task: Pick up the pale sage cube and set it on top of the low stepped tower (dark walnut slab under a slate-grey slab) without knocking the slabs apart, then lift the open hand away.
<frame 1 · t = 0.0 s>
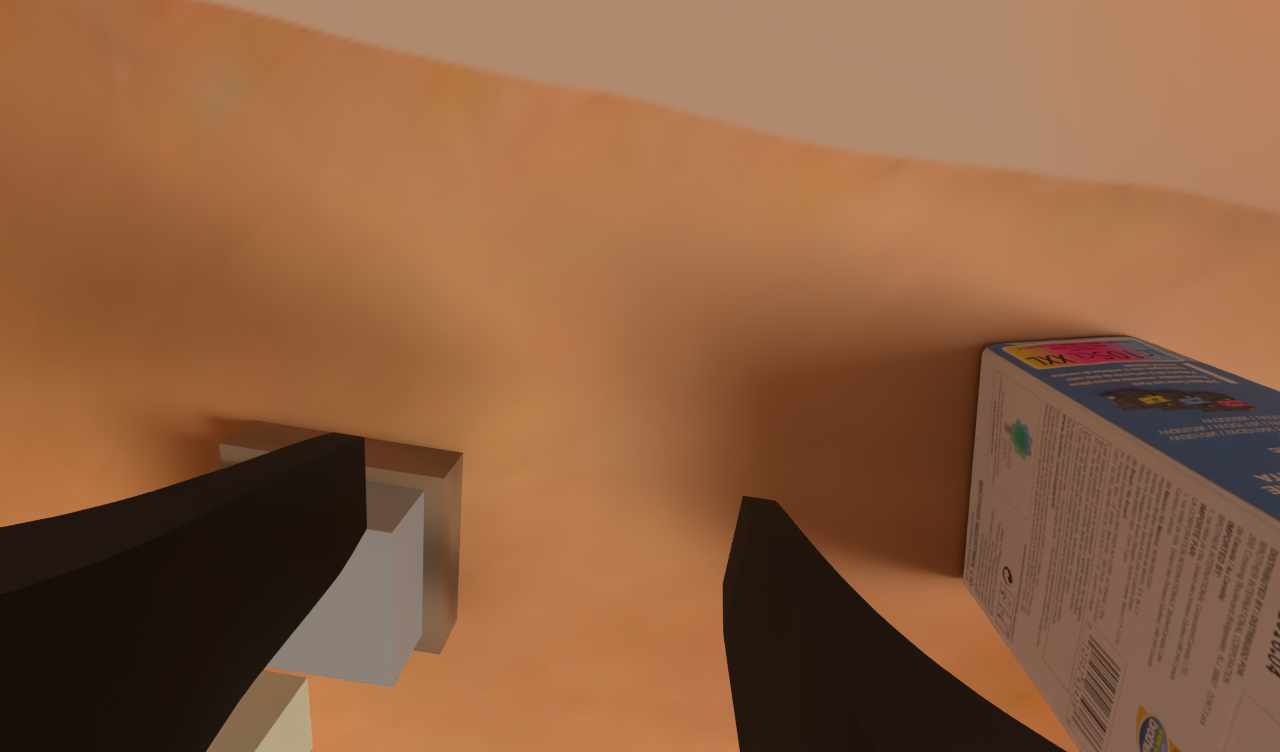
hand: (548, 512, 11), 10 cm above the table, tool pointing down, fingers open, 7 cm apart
sage cube: (263, 705, 28), on the table
ink cartridge box: (1045, 465, 22), on the table
base block: (368, 517, 25), on the table, touching top block
top block: (336, 552, 22), point 2 cm above the table, touching base block
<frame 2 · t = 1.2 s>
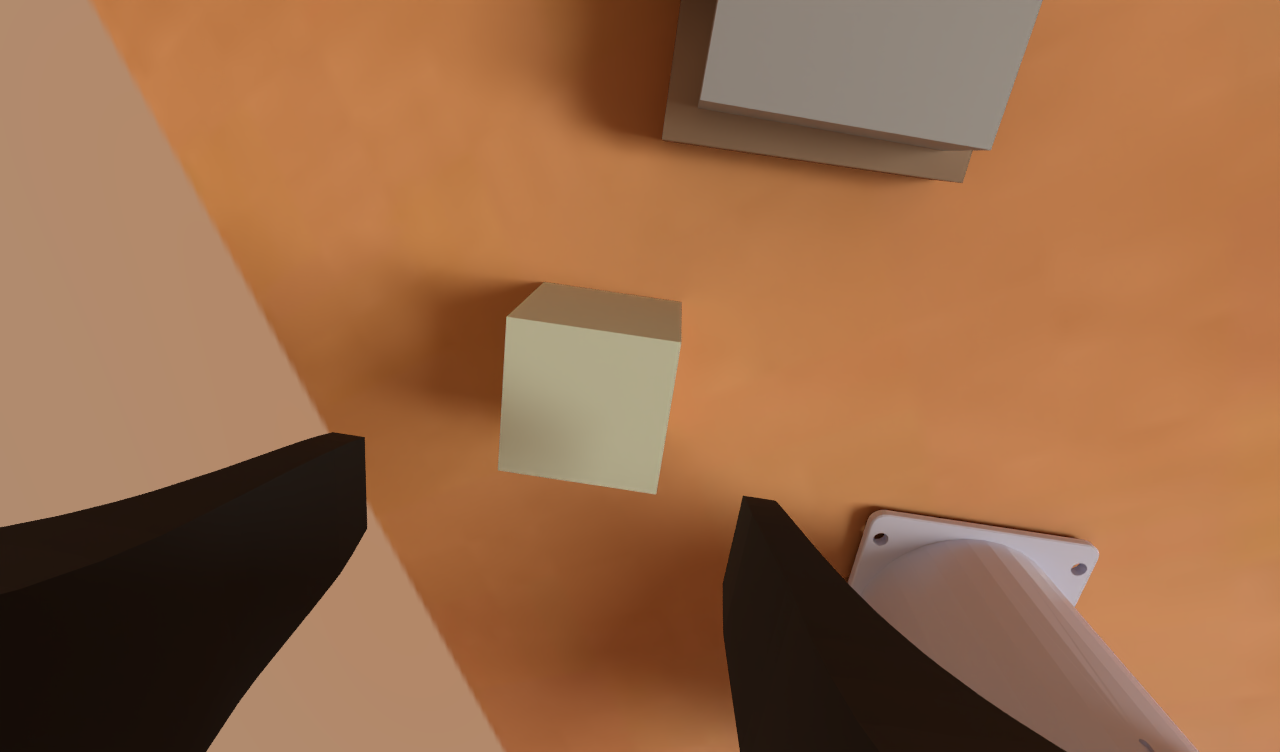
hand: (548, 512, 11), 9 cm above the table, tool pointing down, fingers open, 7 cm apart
sage cube: (605, 356, 20), on the table
base block: (827, 9, 17), on the table, touching top block
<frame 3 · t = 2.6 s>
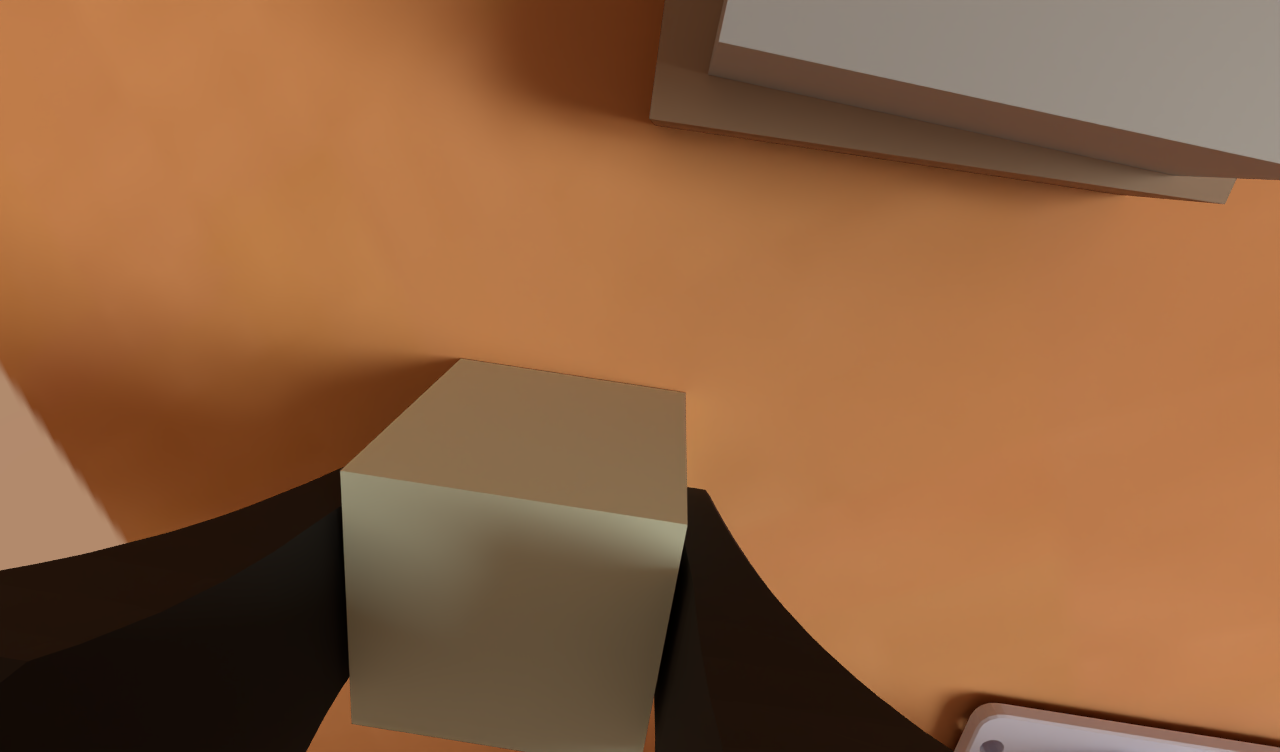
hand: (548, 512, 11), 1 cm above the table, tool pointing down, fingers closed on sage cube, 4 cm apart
sage cube: (562, 474, 13), on the table, touching gripper
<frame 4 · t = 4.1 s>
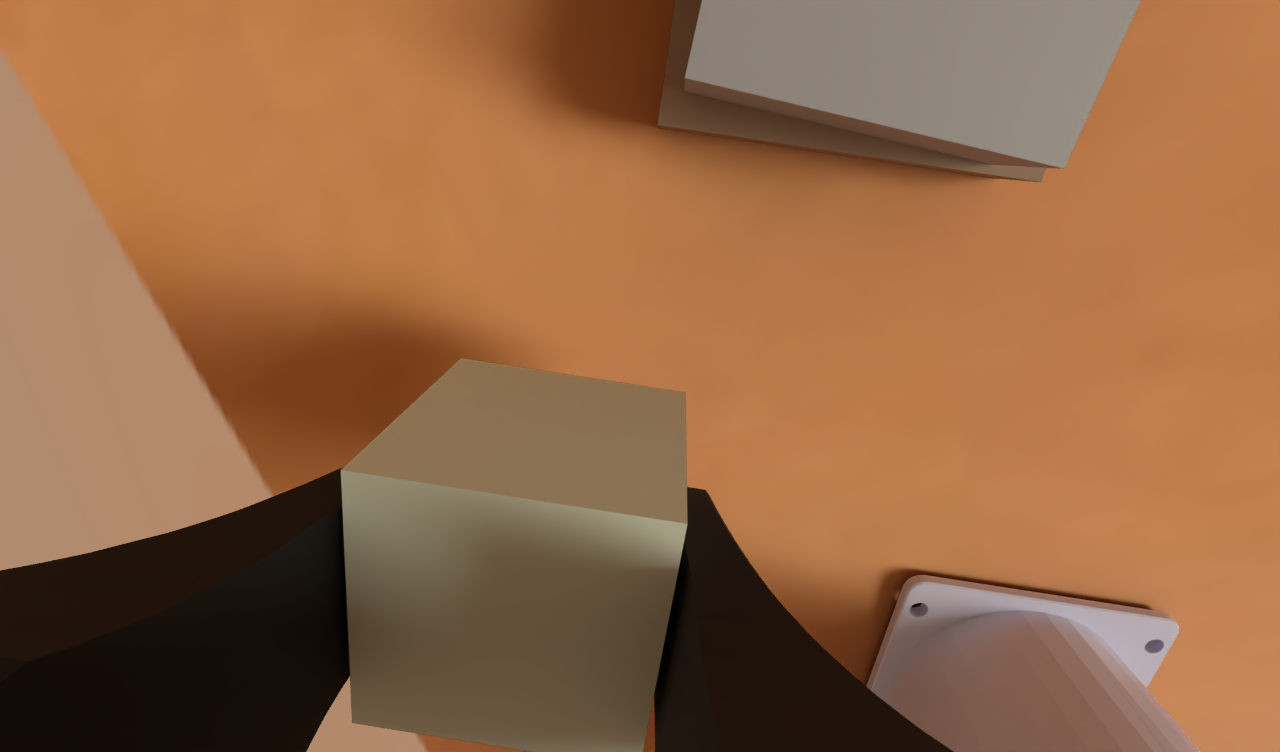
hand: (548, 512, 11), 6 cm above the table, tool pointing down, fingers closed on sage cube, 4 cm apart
sage cube: (562, 473, 13), point 4 cm above the table, touching gripper
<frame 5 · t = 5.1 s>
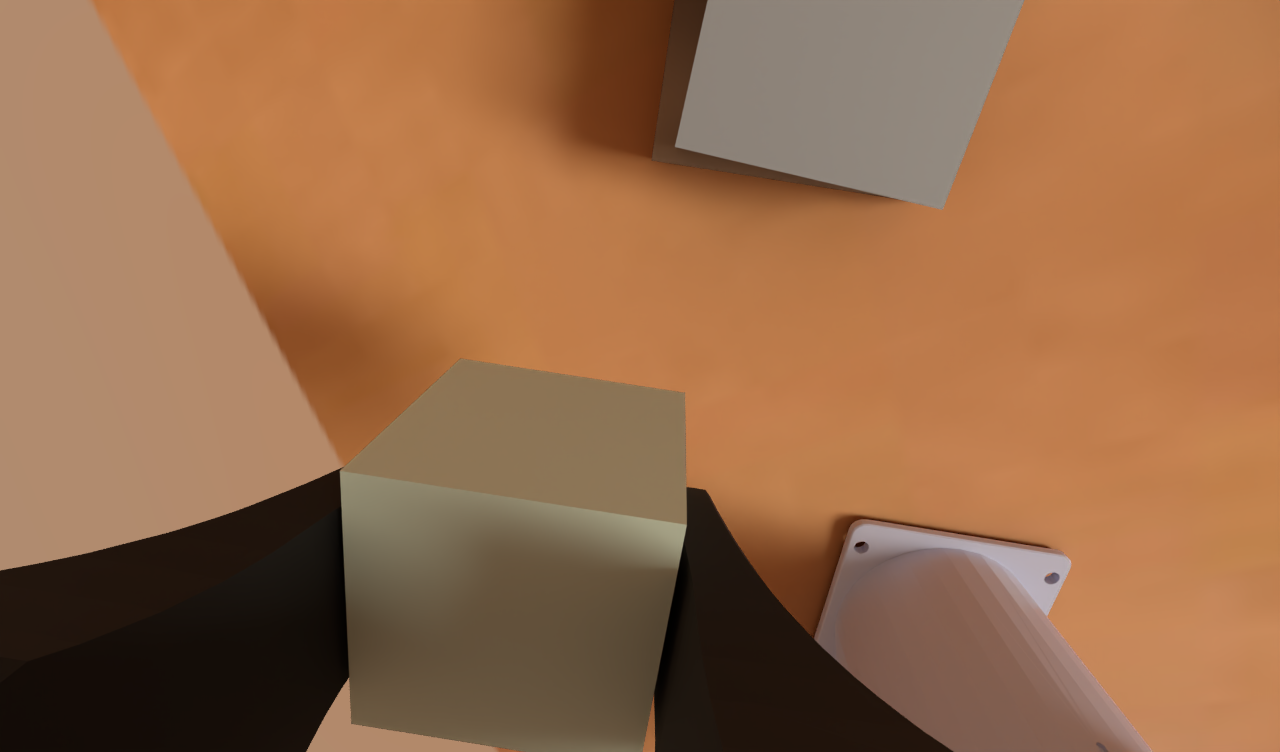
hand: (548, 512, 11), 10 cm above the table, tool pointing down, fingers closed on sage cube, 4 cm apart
sage cube: (562, 474, 13), point 8 cm above the table, touching gripper
base block: (812, 35, 17), on the table, touching top block
top block: (829, 43, 15), point 2 cm above the table, touching base block
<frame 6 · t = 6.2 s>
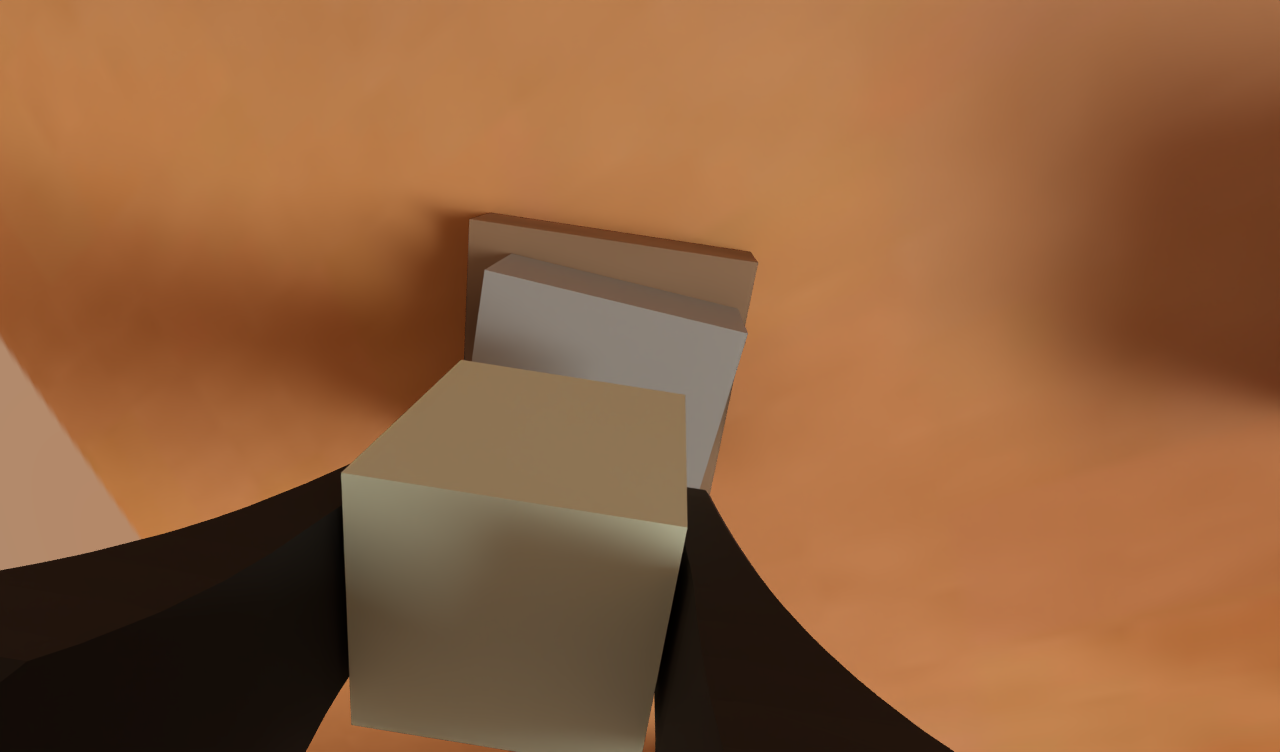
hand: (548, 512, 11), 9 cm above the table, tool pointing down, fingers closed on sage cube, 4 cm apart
sage cube: (562, 475, 13), point 7 cm above the table, touching gripper
base block: (606, 350, 20), on the table, touching top block
top block: (601, 386, 18), point 2 cm above the table, touching base block
when the fingers open (7 cm above the table, at t = 6.9 s): sage cube drops 2 cm, point 4 cm above the table.
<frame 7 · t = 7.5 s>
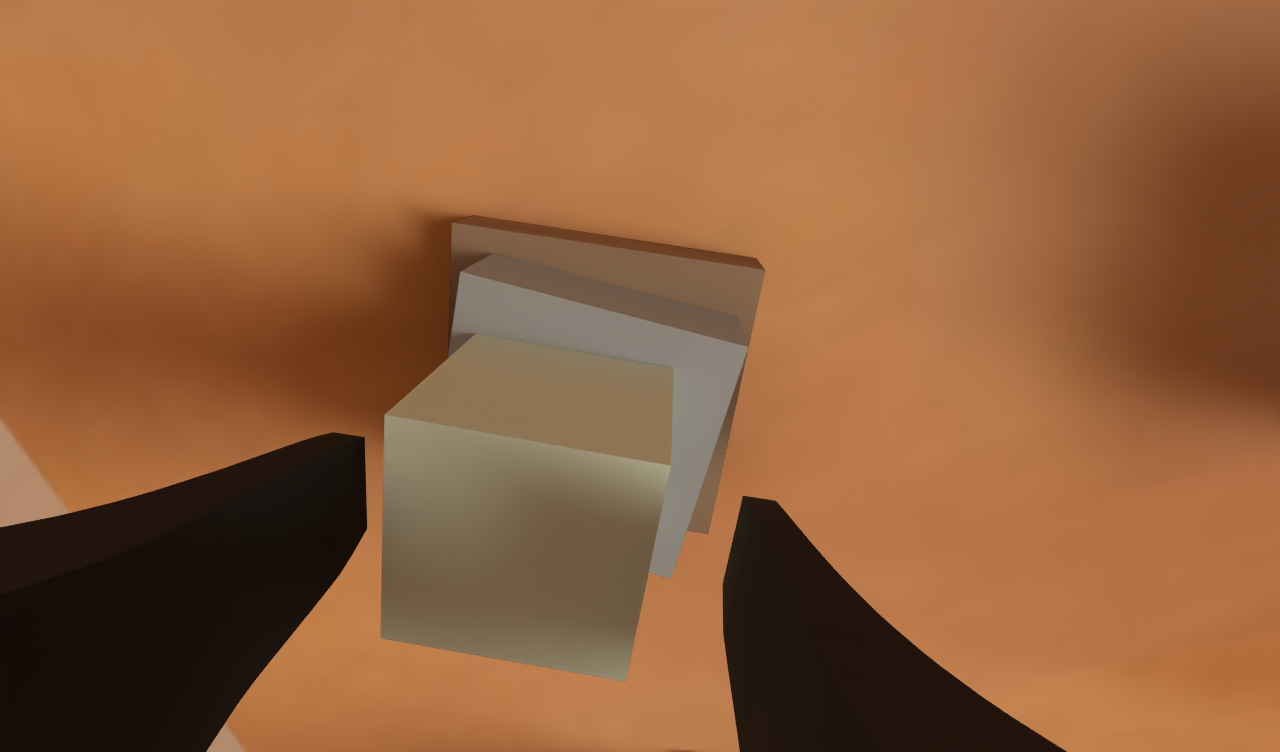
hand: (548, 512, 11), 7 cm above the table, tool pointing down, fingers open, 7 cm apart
sage cube: (563, 439, 14), point 4 cm above the table
base block: (601, 361, 19), on the table
top block: (589, 398, 17), point 2 cm above the table
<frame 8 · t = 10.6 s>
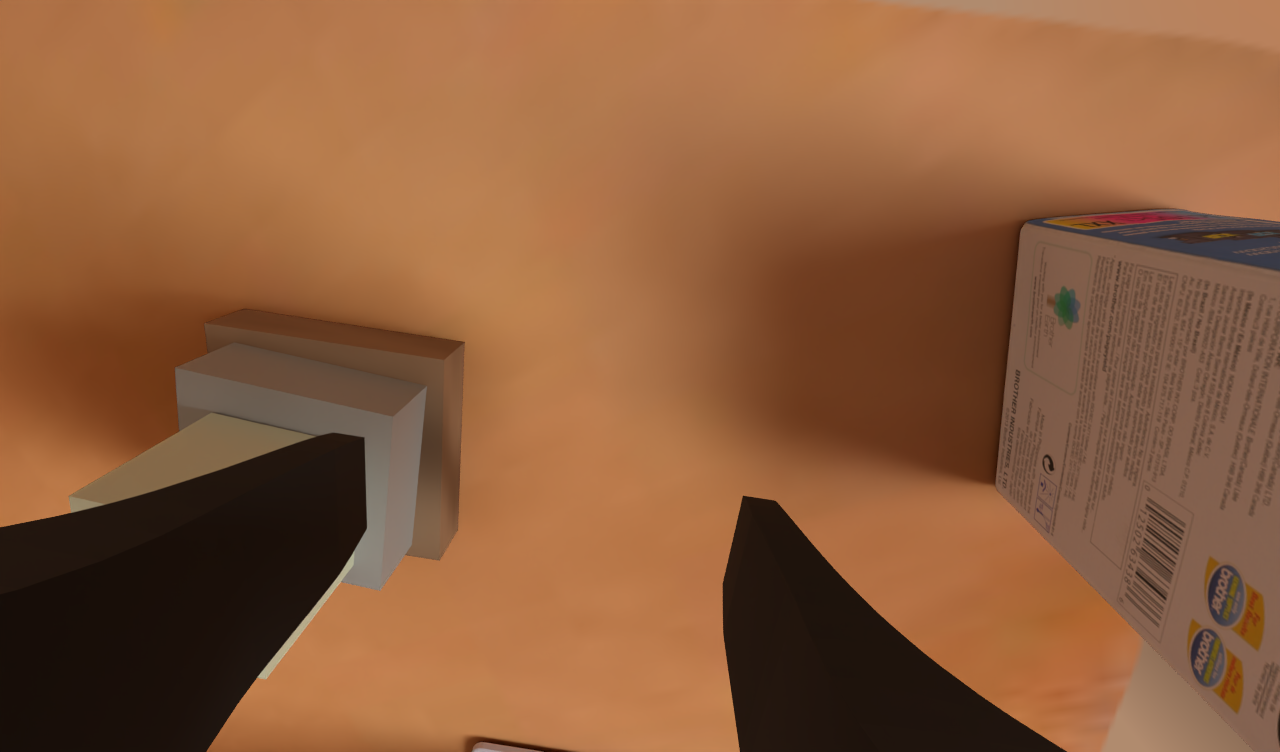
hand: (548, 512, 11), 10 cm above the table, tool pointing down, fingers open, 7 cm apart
sage cube: (286, 492, 19), point 4 cm above the table, touching top block
ink cartridge box: (1084, 359, 20), on the table
base block: (364, 419, 23), on the table, touching top block
top block: (328, 449, 21), point 2 cm above the table, touching base block, sage cube
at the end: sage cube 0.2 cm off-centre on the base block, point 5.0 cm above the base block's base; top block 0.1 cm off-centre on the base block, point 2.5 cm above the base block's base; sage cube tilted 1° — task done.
